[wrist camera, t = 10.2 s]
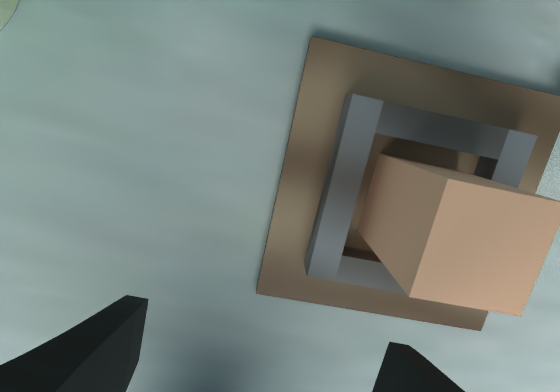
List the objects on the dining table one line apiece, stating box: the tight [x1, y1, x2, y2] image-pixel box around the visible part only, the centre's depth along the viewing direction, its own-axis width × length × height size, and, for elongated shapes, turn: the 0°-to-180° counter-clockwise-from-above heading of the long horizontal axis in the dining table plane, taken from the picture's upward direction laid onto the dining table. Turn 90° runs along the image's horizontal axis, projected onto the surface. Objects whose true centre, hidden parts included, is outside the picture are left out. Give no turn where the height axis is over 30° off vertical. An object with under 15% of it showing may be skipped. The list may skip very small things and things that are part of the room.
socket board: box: [256, 36, 560, 331], centre depth 18 cm, size 14×14×2 cm
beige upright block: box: [357, 153, 560, 316], centre depth 15 cm, size 4×4×7 cm
